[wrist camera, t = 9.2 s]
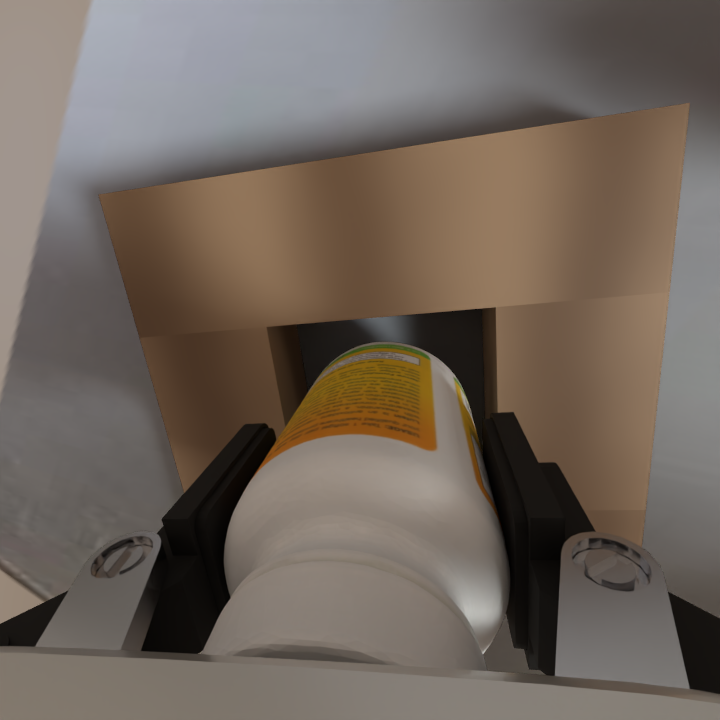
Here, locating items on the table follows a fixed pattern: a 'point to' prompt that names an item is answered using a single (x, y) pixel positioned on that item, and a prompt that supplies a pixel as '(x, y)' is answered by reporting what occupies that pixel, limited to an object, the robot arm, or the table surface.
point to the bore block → (426, 284)
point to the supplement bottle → (369, 525)
